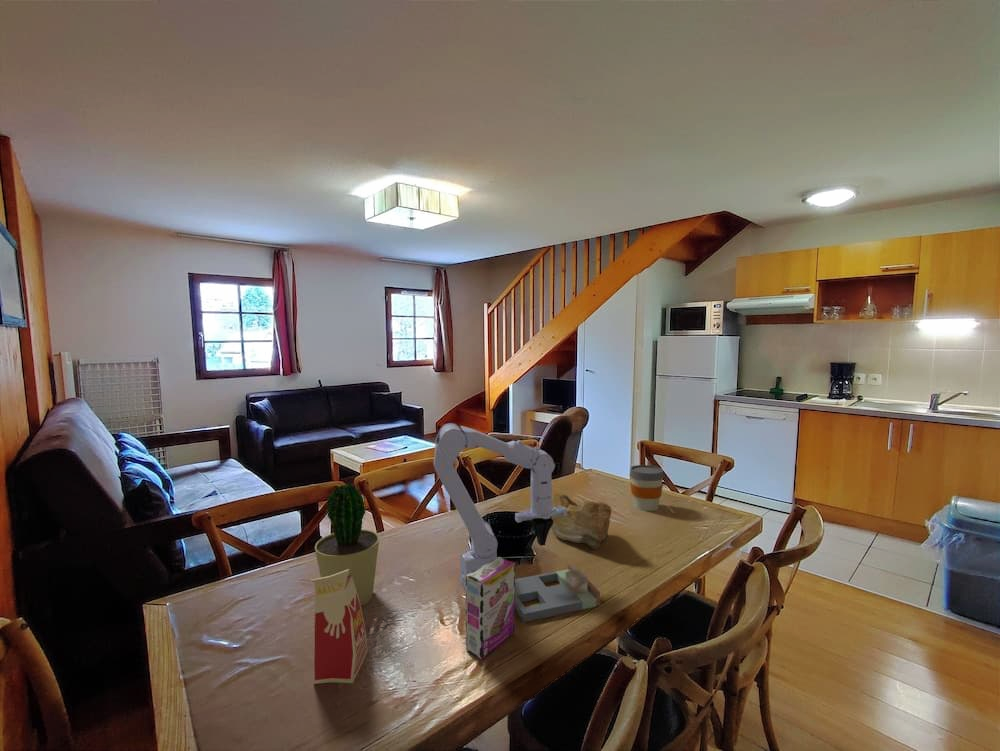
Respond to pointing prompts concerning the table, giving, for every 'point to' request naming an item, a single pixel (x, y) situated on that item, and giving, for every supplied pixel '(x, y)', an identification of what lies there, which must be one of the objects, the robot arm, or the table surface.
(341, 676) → the milk carton
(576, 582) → the block
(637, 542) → the table surface
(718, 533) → the table surface
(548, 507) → the robot arm
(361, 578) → the potted cactus
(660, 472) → the reusable coffee cup
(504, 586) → the candy bar box
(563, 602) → the board
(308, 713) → the table surface
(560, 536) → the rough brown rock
